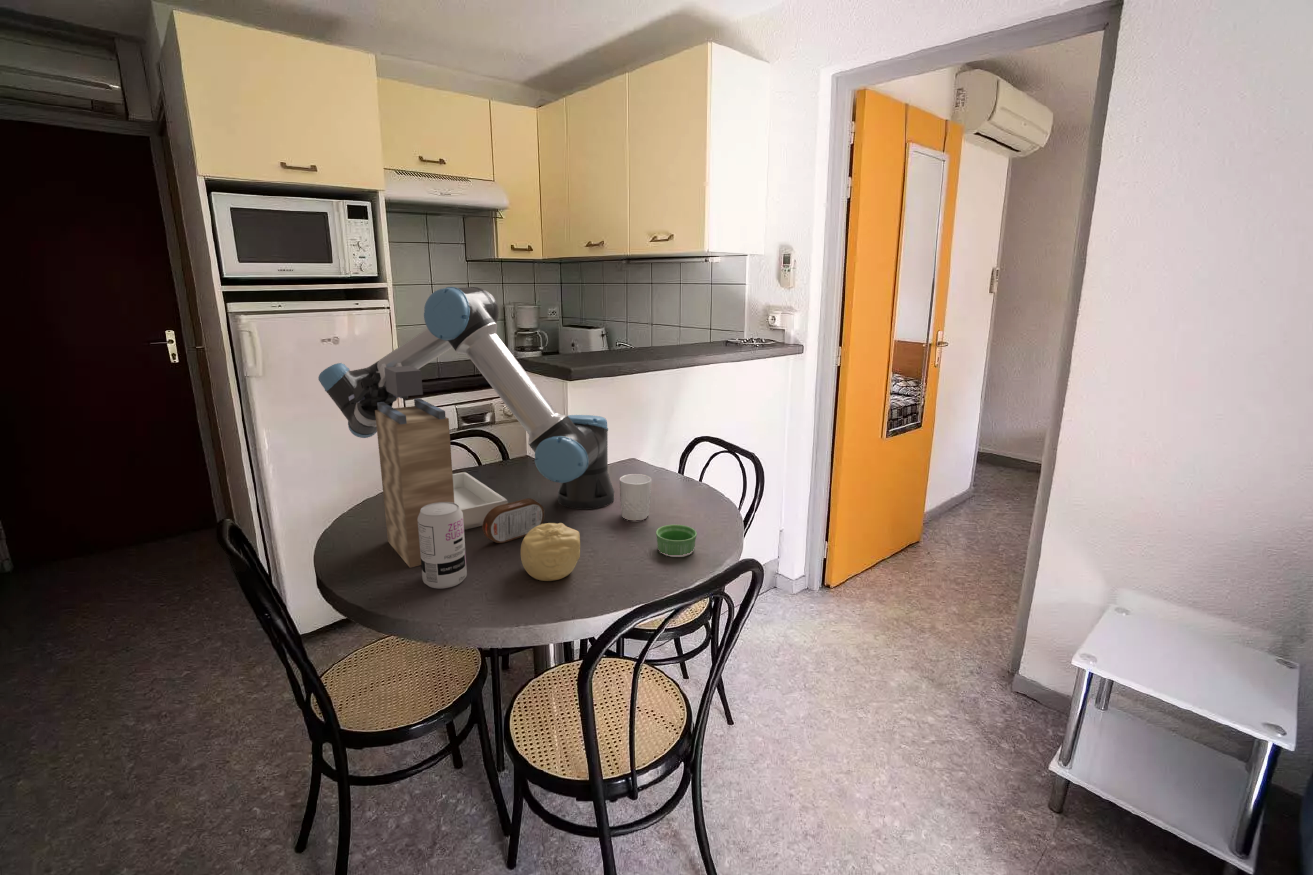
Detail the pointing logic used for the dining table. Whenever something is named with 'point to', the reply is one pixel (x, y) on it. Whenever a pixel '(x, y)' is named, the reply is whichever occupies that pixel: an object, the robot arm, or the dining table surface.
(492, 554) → the dining table surface
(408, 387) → the dark grey rectangular block
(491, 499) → the bin
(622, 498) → the white cup
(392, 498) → the stand
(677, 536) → the ramekin
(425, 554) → the supplement can
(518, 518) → the tin
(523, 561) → the sculpture
